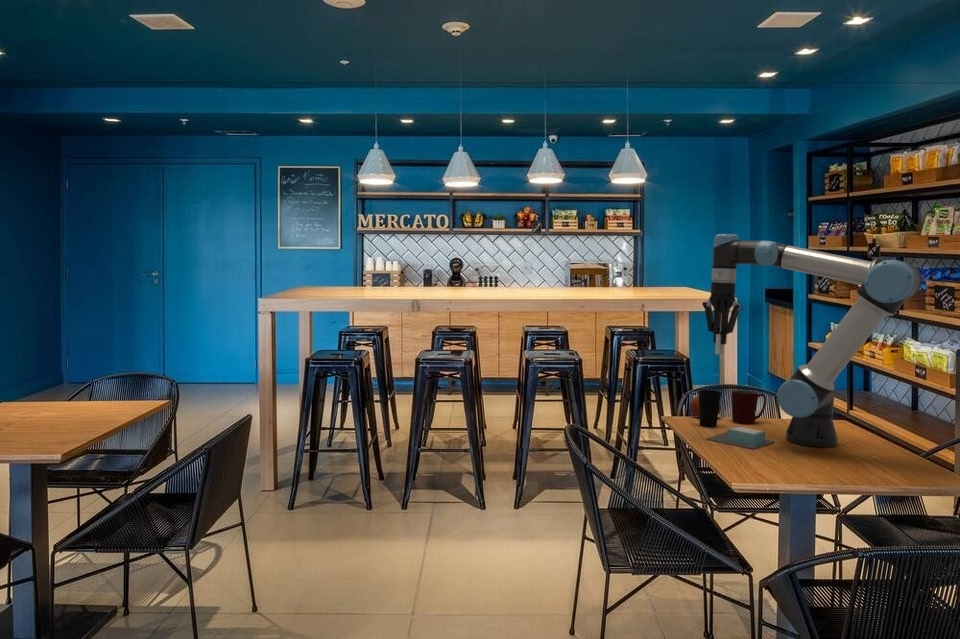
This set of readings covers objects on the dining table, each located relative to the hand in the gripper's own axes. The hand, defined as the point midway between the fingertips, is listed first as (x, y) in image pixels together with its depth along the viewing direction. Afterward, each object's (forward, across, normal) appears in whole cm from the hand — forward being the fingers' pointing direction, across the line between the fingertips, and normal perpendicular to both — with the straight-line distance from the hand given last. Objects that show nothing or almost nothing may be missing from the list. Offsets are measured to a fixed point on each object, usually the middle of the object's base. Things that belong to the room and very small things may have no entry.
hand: (719, 353), depth 240 cm
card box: (+25, +7, -2) cm, 26 cm away
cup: (+27, -8, +11) cm, 30 cm away
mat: (+27, +10, -2) cm, 29 cm away
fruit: (+27, -16, +23) cm, 39 cm away
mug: (+27, -1, +28) cm, 39 cm away
